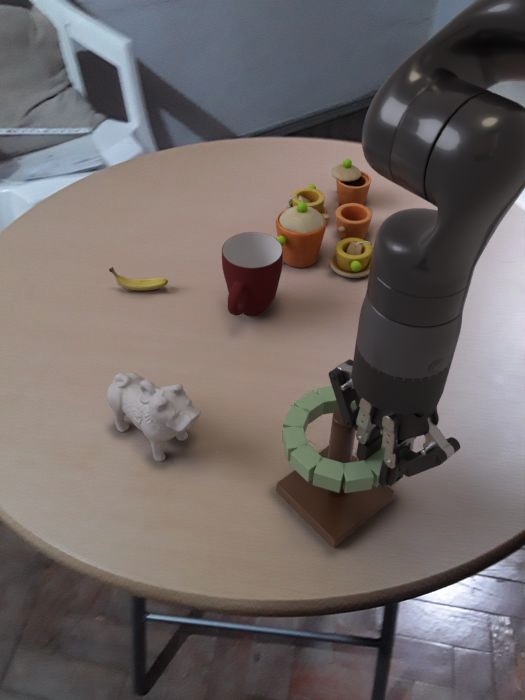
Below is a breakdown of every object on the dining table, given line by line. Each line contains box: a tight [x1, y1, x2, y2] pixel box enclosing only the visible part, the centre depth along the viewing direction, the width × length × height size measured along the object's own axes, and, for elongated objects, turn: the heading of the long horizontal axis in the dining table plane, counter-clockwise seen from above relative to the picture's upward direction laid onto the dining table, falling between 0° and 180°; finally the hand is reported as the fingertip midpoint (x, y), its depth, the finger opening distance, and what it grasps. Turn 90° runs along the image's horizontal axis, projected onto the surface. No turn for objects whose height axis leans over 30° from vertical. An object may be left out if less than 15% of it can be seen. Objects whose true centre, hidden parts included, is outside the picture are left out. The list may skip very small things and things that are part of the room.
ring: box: [281, 385, 385, 493], centre depth 67 cm, size 12×12×2 cm
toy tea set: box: [275, 158, 373, 279], centre depth 106 cm, size 26×16×10 cm, turn 174°
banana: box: [108, 266, 169, 291], centre depth 97 cm, size 8×2×4 cm, turn 90°
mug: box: [221, 231, 284, 317], centre depth 92 cm, size 11×8×10 cm
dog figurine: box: [105, 372, 202, 462], centre depth 76 cm, size 5×13×11 cm, turn 51°
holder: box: [275, 408, 396, 549], centre depth 69 cm, size 9×9×14 cm
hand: (377, 471), depth 65 cm, fingers closed on ring, 2 cm apart
